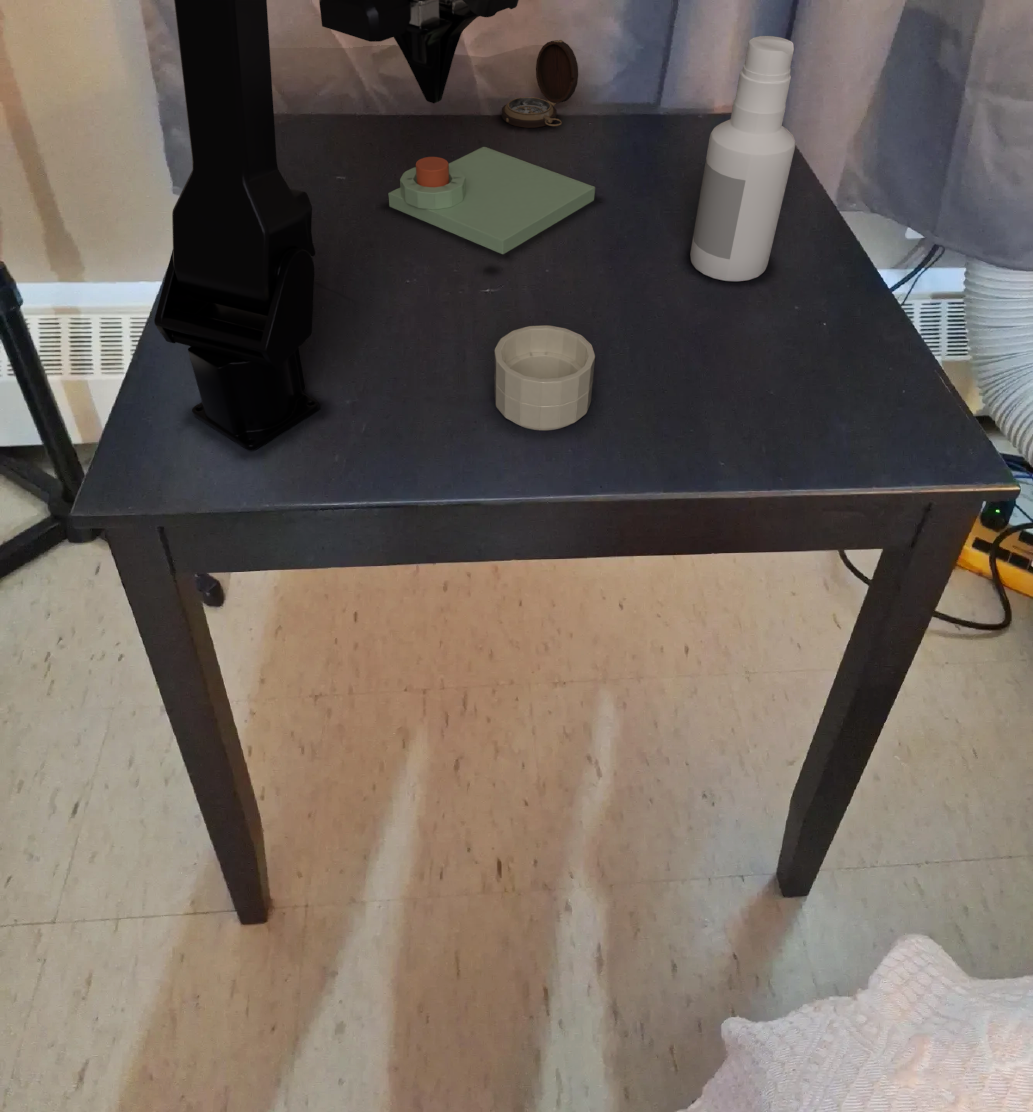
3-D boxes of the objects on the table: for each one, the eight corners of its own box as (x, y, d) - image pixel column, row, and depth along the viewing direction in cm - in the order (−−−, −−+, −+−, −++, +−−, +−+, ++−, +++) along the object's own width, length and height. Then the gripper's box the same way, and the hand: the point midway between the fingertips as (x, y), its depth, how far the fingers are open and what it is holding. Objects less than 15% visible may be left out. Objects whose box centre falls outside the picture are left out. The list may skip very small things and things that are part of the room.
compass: (489, 116, 105) (489, 46, 100) (542, 100, 108) (545, 31, 103) (536, 140, 101) (539, 68, 95) (590, 122, 104) (595, 51, 99)
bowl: (551, 447, 65) (554, 394, 62) (475, 408, 68) (474, 355, 65) (607, 401, 69) (613, 349, 66) (533, 366, 72) (536, 314, 69)
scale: (499, 257, 83) (499, 225, 81) (385, 208, 89) (383, 177, 87) (594, 200, 91) (596, 170, 89) (484, 159, 97) (483, 130, 95)
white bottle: (707, 237, 87) (745, 22, 74) (777, 257, 84) (830, 39, 71) (676, 269, 83) (711, 47, 70) (750, 291, 80) (800, 65, 67)
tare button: (434, 192, 86) (433, 173, 85) (410, 182, 87) (408, 164, 86) (455, 181, 88) (455, 162, 86) (431, 172, 89) (431, 153, 88)
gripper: (419, -79, 61) (430, 162, 72) (587, -122, 71) (574, 94, 82) (301, -107, 65) (328, 124, 77) (475, -144, 76) (476, 64, 87)
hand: (433, 101), depth 80 cm, fingers closed
